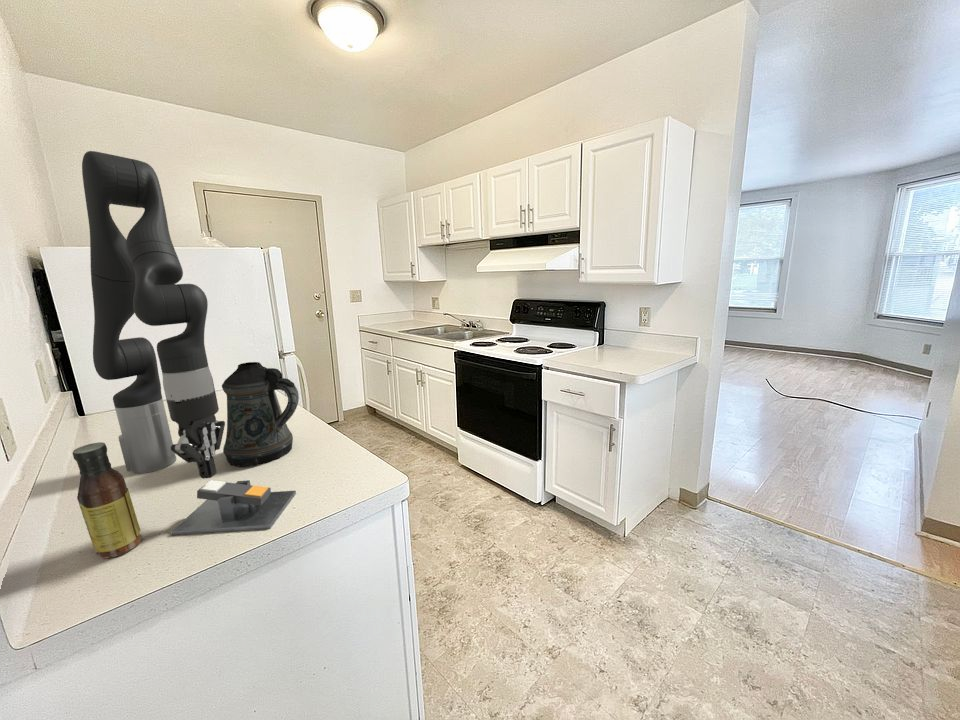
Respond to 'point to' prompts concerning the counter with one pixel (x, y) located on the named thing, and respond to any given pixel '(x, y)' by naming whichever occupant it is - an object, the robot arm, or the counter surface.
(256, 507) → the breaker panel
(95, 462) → the sauce bottle
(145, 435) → the robot arm
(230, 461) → the beer stein
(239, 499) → the lever
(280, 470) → the counter surface
